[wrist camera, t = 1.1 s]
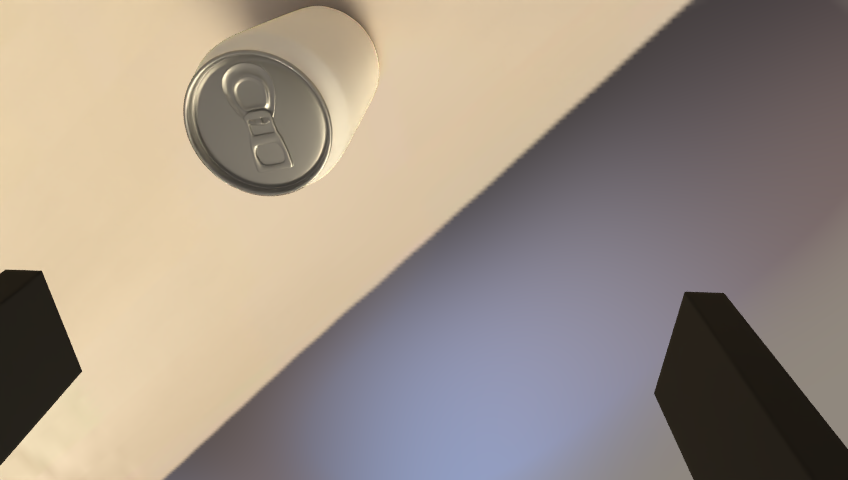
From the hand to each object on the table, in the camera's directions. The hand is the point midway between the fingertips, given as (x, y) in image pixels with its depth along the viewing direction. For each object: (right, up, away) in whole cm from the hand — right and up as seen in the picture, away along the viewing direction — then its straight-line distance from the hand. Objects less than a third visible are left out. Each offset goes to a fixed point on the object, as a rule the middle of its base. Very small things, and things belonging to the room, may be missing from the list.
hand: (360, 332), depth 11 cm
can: (-4, +12, +19) cm, 23 cm away
